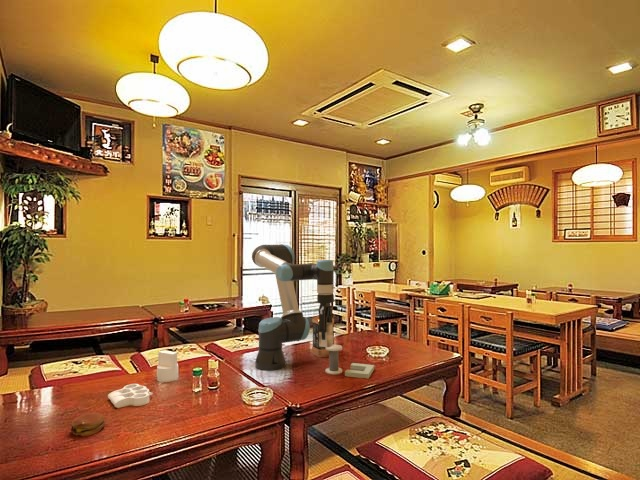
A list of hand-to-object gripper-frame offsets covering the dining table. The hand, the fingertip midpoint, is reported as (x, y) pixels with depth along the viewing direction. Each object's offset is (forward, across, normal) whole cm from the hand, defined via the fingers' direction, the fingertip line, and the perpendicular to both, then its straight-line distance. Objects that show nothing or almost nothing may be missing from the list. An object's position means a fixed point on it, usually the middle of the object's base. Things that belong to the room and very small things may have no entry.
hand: (326, 345), depth 177 cm
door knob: (+15, +10, 0) cm, 18 cm away
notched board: (+15, +14, -12) cm, 24 cm away
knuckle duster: (+16, -46, +66) cm, 82 cm away
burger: (+16, -71, +60) cm, 94 cm away
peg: (0, 0, 0) cm, 0 cm away
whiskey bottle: (+15, +37, +14) cm, 42 cm away
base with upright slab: (+15, -22, +69) cm, 74 cm away
